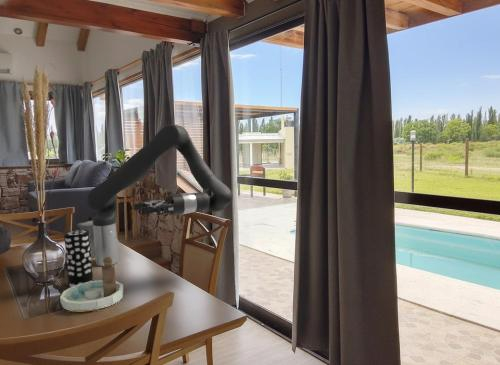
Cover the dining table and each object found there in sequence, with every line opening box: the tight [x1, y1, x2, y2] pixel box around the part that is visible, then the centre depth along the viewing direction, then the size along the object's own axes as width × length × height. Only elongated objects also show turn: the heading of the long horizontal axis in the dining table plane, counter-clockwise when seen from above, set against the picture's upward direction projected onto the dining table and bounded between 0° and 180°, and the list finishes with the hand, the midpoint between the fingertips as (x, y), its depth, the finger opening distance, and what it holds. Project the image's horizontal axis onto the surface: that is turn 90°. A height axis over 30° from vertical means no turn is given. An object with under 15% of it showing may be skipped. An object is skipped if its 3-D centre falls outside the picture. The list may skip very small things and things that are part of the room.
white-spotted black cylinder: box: [63, 229, 94, 289], centre depth 144 cm, size 8×8×20 cm
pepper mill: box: [101, 257, 117, 297], centre depth 131 cm, size 4×4×13 cm
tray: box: [59, 279, 124, 311], centre depth 131 cm, size 19×19×4 cm
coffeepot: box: [76, 216, 96, 259], centre depth 182 cm, size 15×9×18 cm, turn 88°
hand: (137, 209), depth 134 cm, fingers open, 8 cm apart
